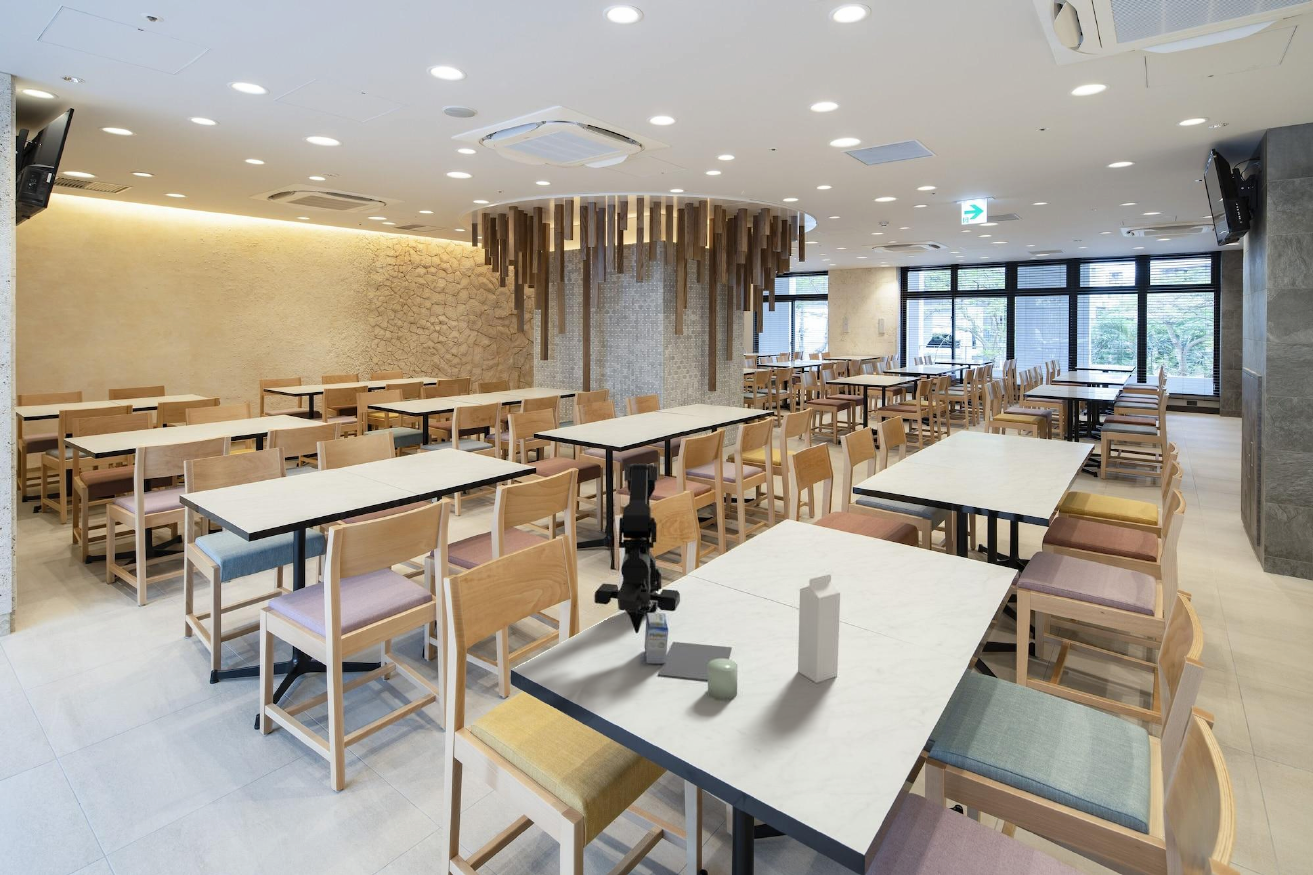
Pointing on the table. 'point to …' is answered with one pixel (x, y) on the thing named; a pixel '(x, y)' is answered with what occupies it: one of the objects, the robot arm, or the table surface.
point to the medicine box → (656, 638)
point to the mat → (691, 660)
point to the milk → (819, 629)
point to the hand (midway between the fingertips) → (637, 632)
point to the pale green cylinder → (722, 679)
